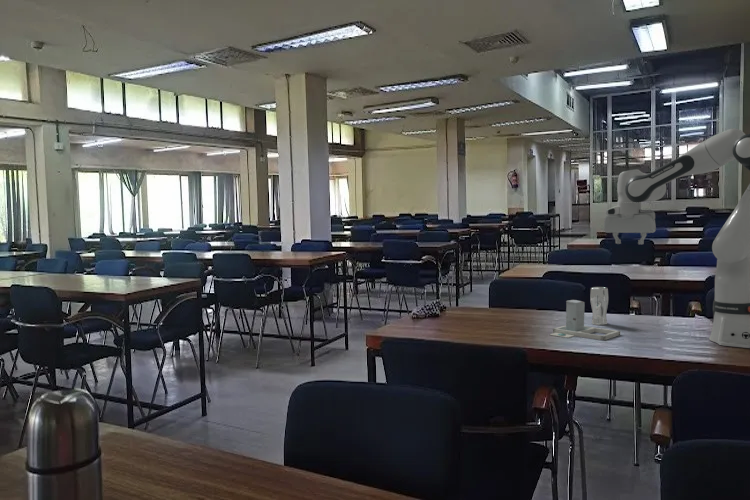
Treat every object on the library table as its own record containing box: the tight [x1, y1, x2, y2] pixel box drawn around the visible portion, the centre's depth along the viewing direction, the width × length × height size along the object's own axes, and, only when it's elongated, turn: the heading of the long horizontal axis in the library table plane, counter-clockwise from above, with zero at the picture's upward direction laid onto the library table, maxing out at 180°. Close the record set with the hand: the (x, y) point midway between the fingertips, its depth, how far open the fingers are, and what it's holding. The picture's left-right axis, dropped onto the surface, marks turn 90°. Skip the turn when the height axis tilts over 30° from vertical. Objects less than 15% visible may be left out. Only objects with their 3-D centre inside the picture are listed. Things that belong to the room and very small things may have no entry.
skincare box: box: [565, 299, 586, 332], centre depth 231 cm, size 6×4×12 cm
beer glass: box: [589, 286, 609, 326], centre depth 246 cm, size 7×7×15 cm
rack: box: [549, 324, 621, 341], centre depth 227 cm, size 21×17×2 cm
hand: (629, 244), depth 240 cm, fingers open, 8 cm apart
